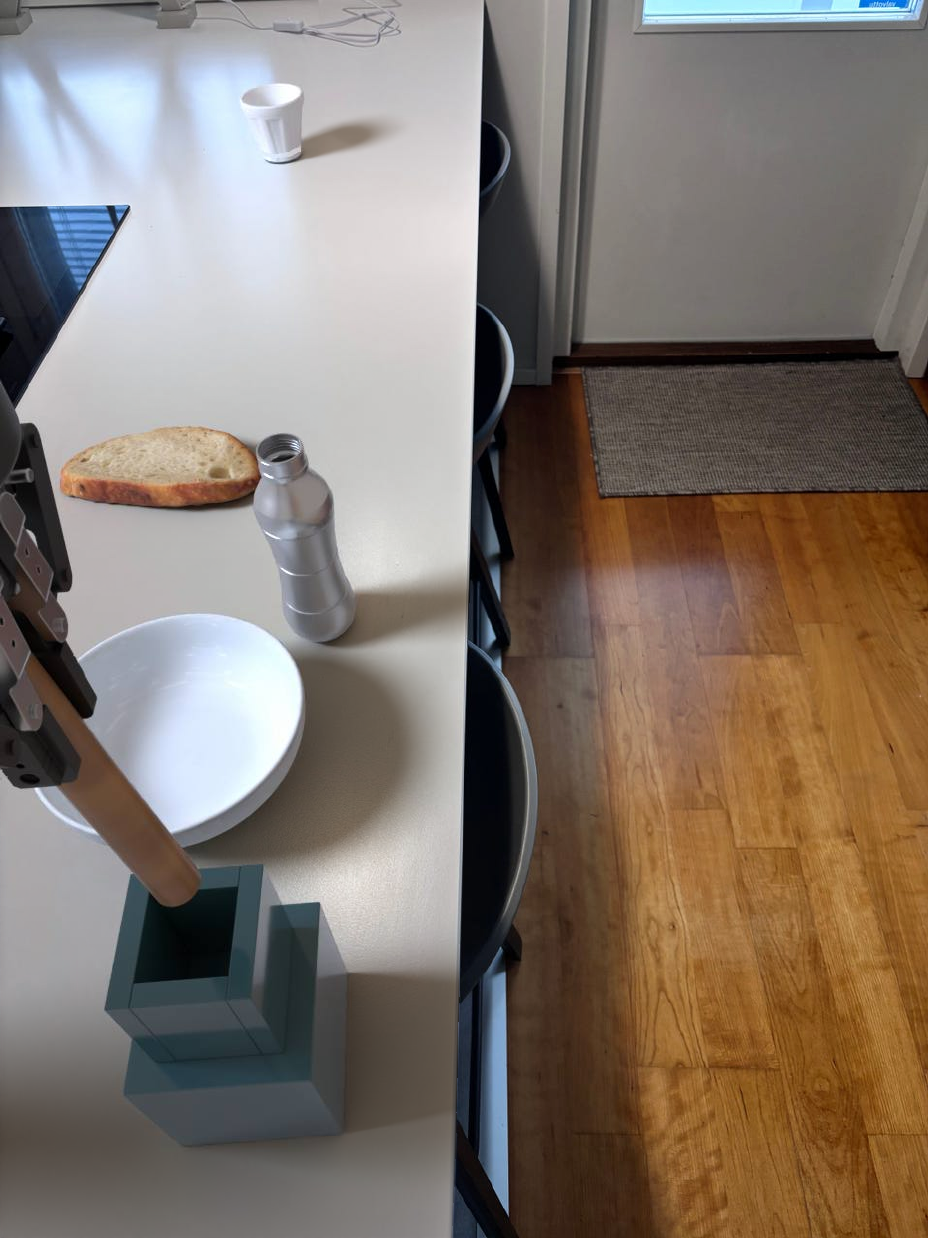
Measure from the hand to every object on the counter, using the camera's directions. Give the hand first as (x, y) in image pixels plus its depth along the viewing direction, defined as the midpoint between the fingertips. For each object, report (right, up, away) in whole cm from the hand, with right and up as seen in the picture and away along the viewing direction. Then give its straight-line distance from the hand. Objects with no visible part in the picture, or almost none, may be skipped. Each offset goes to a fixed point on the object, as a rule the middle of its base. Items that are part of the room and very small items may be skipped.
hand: (60, 743), depth 35 cm
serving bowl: (-7, -7, +42) cm, 43 cm away
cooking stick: (+2, -8, +9) cm, 12 cm away
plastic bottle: (+2, +4, +51) cm, 51 cm away
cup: (-15, +80, +119) cm, 144 cm away
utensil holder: (+2, -24, +27) cm, 36 cm away
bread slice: (-17, +19, +66) cm, 71 cm away
